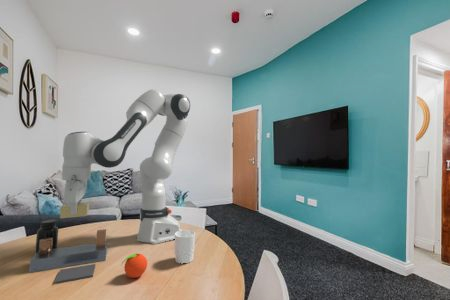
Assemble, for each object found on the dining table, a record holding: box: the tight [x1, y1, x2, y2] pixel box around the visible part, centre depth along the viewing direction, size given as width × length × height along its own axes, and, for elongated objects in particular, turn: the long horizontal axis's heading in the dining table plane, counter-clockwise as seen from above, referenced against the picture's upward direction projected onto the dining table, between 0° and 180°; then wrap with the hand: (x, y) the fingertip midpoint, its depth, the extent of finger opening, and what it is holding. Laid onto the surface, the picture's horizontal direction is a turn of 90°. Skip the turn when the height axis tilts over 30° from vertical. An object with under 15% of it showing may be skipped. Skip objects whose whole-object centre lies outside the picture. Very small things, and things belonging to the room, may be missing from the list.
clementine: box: [120, 253, 148, 279], centre depth 70 cm, size 8×7×7 cm
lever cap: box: [59, 202, 90, 219], centre depth 80 cm, size 8×5×4 cm, turn 116°
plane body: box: [29, 228, 108, 273], centre depth 79 cm, size 22×8×10 cm, turn 116°
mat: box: [53, 263, 96, 285], centre depth 71 cm, size 10×8×1 cm
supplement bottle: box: [34, 219, 59, 254], centre depth 87 cm, size 7×7×12 cm
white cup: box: [174, 229, 196, 265], centre depth 82 cm, size 8×8×10 cm
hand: (75, 211), depth 80 cm, fingers closed on lever cap, 5 cm apart
